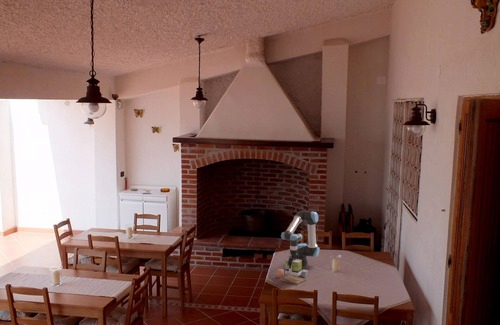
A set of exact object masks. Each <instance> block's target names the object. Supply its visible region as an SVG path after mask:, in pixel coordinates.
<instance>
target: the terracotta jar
mask: <svg viewBox="0 0 500 325" xmlns="http://www.w3.org/2000/svg"><path fill="white" fill-rule="evenodd" d="M276 275H277V278H278V279H280V280H281V279H283V278H285V269H282V268H278V269H277V270H276Z"/></svg>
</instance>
